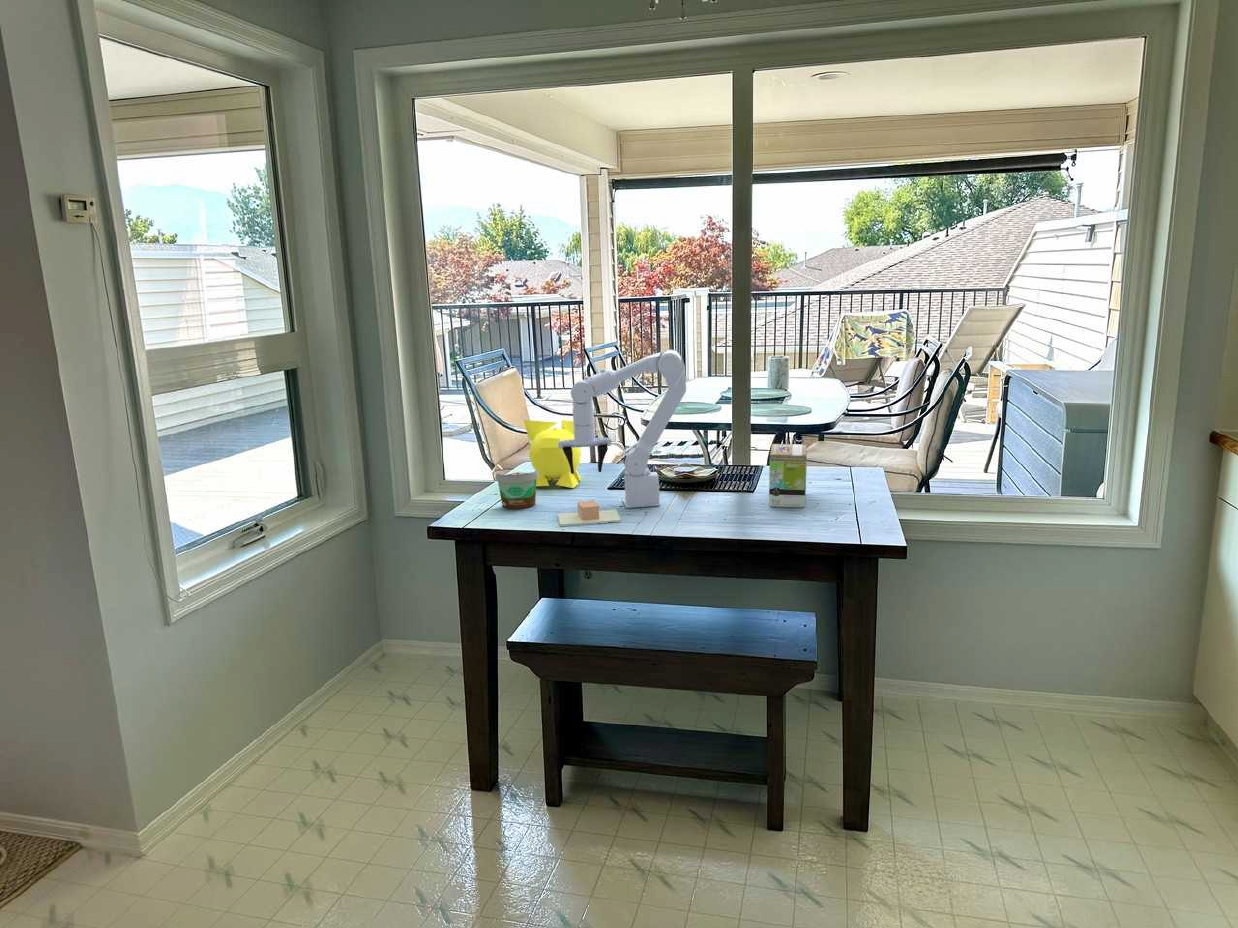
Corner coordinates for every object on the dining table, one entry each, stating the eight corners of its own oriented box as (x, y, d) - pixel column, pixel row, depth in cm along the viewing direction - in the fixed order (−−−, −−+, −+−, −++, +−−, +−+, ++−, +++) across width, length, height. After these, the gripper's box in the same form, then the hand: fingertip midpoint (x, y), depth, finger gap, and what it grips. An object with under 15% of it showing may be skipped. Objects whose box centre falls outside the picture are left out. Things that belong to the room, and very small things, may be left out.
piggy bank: (592, 474, 281) (589, 415, 277) (583, 490, 262) (580, 427, 258) (531, 475, 284) (527, 416, 279) (518, 490, 265) (514, 428, 260)
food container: (498, 512, 242) (496, 477, 240) (497, 506, 248) (494, 472, 246) (542, 508, 245) (540, 473, 242) (540, 502, 250) (538, 468, 248)
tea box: (806, 508, 235) (806, 454, 232) (768, 507, 238) (768, 454, 234) (806, 493, 250) (806, 442, 246) (770, 493, 252) (770, 442, 248)
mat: (616, 511, 239) (616, 509, 239) (621, 521, 229) (621, 519, 229) (557, 515, 237) (557, 513, 237) (560, 526, 227) (560, 524, 227)
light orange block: (599, 518, 231) (598, 505, 230) (582, 520, 230) (581, 507, 229) (594, 512, 237) (593, 500, 236) (578, 514, 236) (577, 501, 235)
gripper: (608, 420, 246) (610, 467, 249) (556, 423, 244) (559, 470, 248) (611, 424, 239) (613, 472, 242) (558, 427, 238) (560, 476, 241)
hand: (586, 472), depth 245 cm, fingers open, 7 cm apart
